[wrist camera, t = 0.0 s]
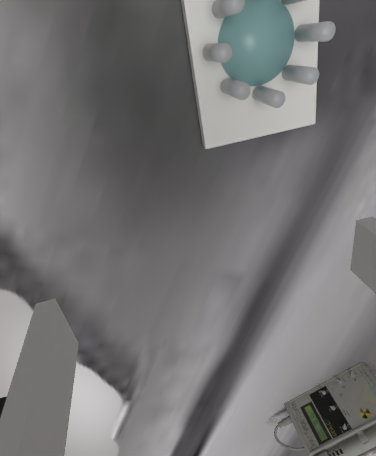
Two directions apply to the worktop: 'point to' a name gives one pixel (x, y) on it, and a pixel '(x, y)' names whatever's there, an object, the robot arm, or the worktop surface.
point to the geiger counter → (336, 415)
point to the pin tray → (253, 65)
